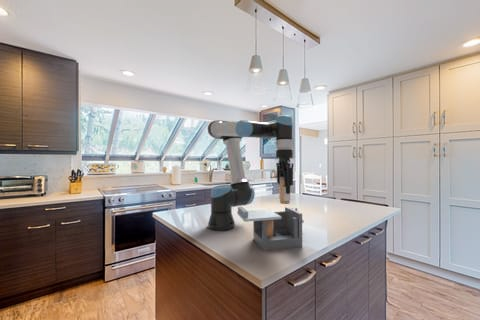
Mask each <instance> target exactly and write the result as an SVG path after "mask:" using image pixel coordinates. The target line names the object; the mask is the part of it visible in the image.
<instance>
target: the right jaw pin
mask: <svg viewBox="0 0 480 320" xmlns="http://www.w3.org/2000/svg"><path fill="white" fill-rule="evenodd" d="M283 185H285V182H284V177H280V199H279V204H281V205H290V203H291V200H290V201H284V186H283Z"/></svg>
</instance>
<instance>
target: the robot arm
mask: <svg viewBox="0 0 480 320" xmlns="http://www.w3.org/2000/svg"><path fill="white" fill-rule="evenodd" d="M292 117H293V116H291V115H288V114H283V115H281V114H280V115H277V116H276V117H275V121H273V122H262V121H252V120H246V119H243V120H242V119H240V120H239V121H227V120H213V121H211V122H209V124H208V125H207V133H208V135H209V136H210V137H212V138H213V139H216V140H222V142H223V145H225V146H226V152H227V153H226V154H227V159H228V165H229V173H230V176H231V177H230V179H231V183H230V184H220V185H216V186H213V187H212V188H211V190H210V215H209V219H208V223H207V227H208V229H210V230H212V231H218V232H220V231H221V232H223V231H228V230H233V229H234V228H235V225H236V224H235V219H234V217H233V213H232V209H233V208H234V207H243V206H247V205H250V204H252V203H253V201H254V199H255V196H256V195H255V193H256V192H255V189H254V187H253V186H252V185H251V184H250V183H249V181H248V179H246V174H245V168H244V163H243V156H242V150H241V145H240V143H241V141H242V139H243V138H257V139H258V138H259V139H262V140H269V139H275V142H274V143H275V148H276V151H275V158H277V159H278V162H276V163H275V164H276V183H277V184H278V187H279V191H278V192H279V198H278V199H279V200H280V177H284V182H285V185H283V186H284V201H290V202H291V186H293V185H294V163H293V162H291V159H292V158H293V154H294V152H293V147H294V142H293V124H294V123H293V118H292Z"/></svg>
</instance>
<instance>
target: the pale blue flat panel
mask: <svg viewBox="0 0 480 320" xmlns="http://www.w3.org/2000/svg"><path fill="white" fill-rule="evenodd" d="M275 212H276V211H273V210H271V209H256V210H254V209H253V210H247V209H246V208H245V207H243V206H237V211H236V214H237V215H238V216H239V217H240V219H242V221H244V222H245V223H247V222H253V221H261V220H274V219H281V216H280V215H278V214H276V213H275Z"/></svg>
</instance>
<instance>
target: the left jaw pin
mask: <svg viewBox="0 0 480 320" xmlns="http://www.w3.org/2000/svg"><path fill="white" fill-rule="evenodd" d="M266 221H267V237H273V220H266Z"/></svg>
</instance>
